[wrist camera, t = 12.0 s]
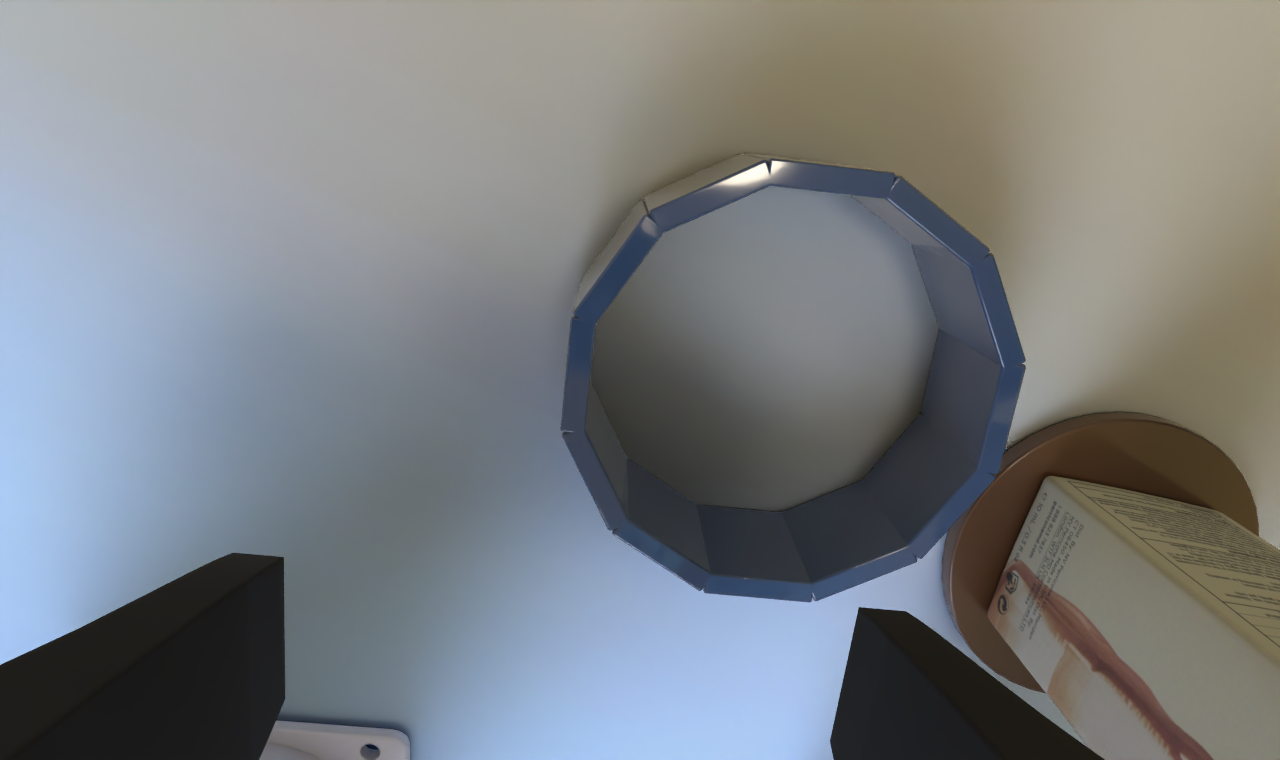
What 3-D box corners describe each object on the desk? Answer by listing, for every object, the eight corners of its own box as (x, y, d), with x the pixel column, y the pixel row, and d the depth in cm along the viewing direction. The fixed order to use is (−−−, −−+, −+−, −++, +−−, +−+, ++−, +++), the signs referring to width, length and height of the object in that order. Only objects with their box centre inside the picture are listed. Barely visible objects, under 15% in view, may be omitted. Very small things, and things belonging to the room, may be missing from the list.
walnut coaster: (912, 671, 23) (920, 685, 22) (979, 395, 21) (989, 404, 20) (1190, 694, 23) (1205, 709, 23) (1286, 427, 21) (1305, 436, 21)
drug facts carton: (978, 618, 22) (1264, 1007, 12) (1041, 466, 21) (1414, 765, 11) (1158, 657, 22) (1571, 1061, 13) (1231, 512, 21) (1750, 836, 11)
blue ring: (557, 508, 21) (546, 580, 18) (592, 134, 19) (586, 136, 15) (910, 541, 22) (962, 616, 18) (992, 181, 19) (1071, 193, 16)
